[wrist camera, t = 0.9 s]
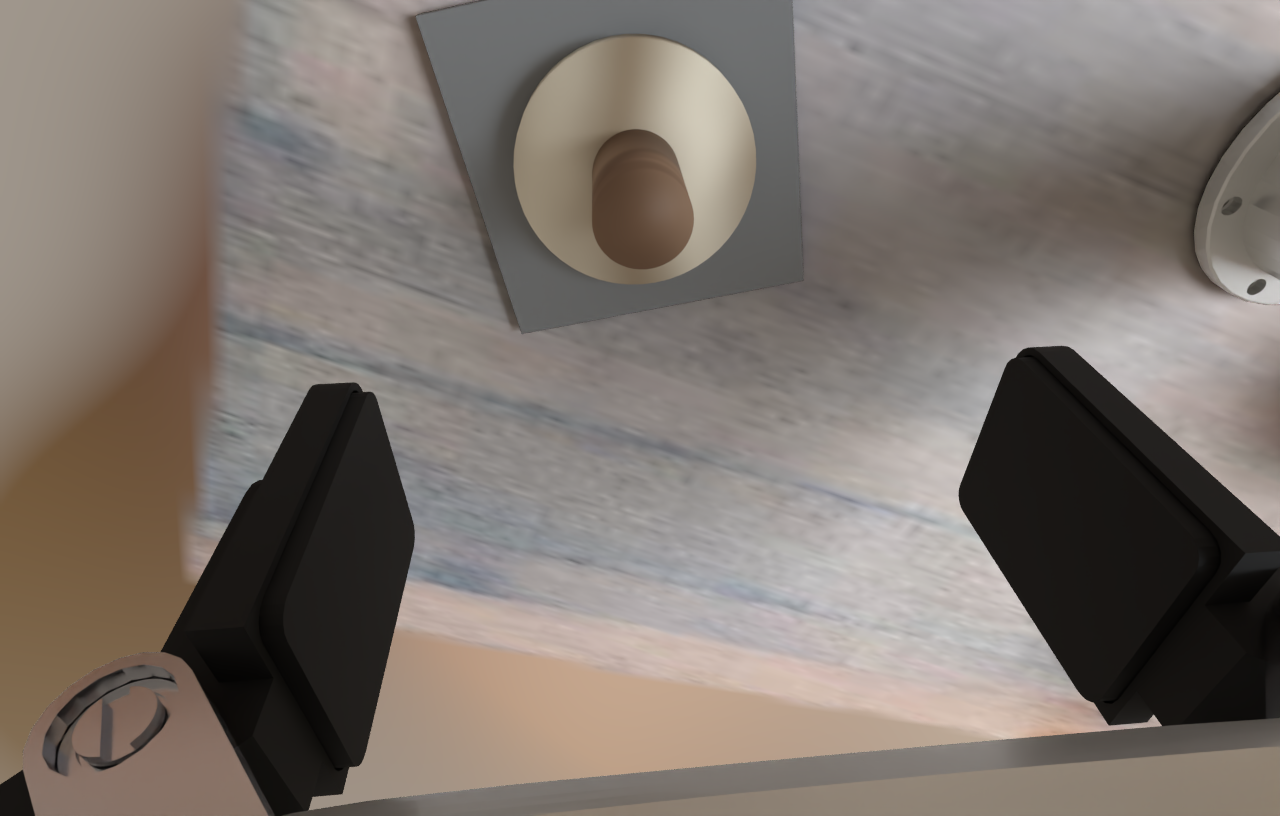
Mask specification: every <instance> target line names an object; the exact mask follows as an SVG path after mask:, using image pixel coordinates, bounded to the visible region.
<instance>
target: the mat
mask: <svg viewBox="0 0 1280 816" xmlns="http://www.w3.org/2000/svg"><path fill="white" fill-rule="evenodd" d="M416 19H417V22H418V25H419V28H420V31H421V34H422V37H423V40H424V43H425V46H426V49H427V52H428V55H429V58H430V61H431V64H432V67H433V70H434V73H435V76H436V79H437V82H438V85H439V88H440V91H441V94H442V97H443V100H444V103H445V106H446V109H447V112H448V115H449V118H450V121H451V124H452V127H453V130H454V133H455V136H456V139H457V142H458V145H459V148H460V151H461V154H462V157H463V160H464V163H465V166H466V169H467V172H468V175H469V178H470V181H471V184H472V187H473V190H474V193H475V196H476V199H477V202H478V205H479V208H480V211H481V214H482V217H483V220H484V223H485V226H486V228H487V231H488V234H489V237H490V240H491V243H492V246H493V249H494V252H495V255H496V258H497V261H498V264H499V267H500V270H501V273H502V276H503V279H504V282H505V285H506V288H507V291H508V294H509V297H510V300H511V303H512V306H513V309H514V312H515V315H516V318H517V321H518V324H519V327H520V330H521V333H522V334H524V333H530V332H535V331H540V330H546V329H551V328H556V327H561V326H567V325H572V324H577V323H583V322H588V321H593V320H598V319H604V318H609V317H614V316H620V315H625V314H630V313H635V312H641V311H646V310H651V309H657V308H662V307H667V306H672V305H678V304H683V303H688V302H694V301H699V300H704V299H709V298H715V297H720V296H725V295H731V294H736V293H741V292H746V291H752V290H757V289H762V288H767V287H773V286H778V285H783V284H789V283H794V282H799V281H804V279H803V254H802V229H801V203H800V178H799V153H798V128H797V102H796V77H795V52H794V27H793V1H792V0H480V1H476V2H471V3H467V4H462V5H458V6H453V7H449V8H444V9H440V10H435V11H431V12H426V13H422V14H418V15H417V16H416ZM622 34H648V35H655V36H661V37H664V38H668V39H671V40H674V41H677V42H679V43H681V44H683V45H685V46H687V47H690V48H692V49H693V50H695V51H696V52H698V53H699V54H701V55H702V56H704V57H705V58H706V59H708V60H709V61H710V62H711V63H712V64H713V65H714V66H715V67H716V68H717V69H718V70H719V71H720V72H721V73H722V74H723V76H724V77H725V78H726V79H727V80H728V82H729V83H730V84H731V86H732V87H733V88H734V90H735V92H736V93H737V95H738V97H739V98H740V100H741V101H742V103H743V105H744V108H745V110H746V112H747V115H748V117H749V120H750V123H751V127H752V130H753V134H754V140H755V147H756V172H755V181H754V186H753V190H752V194H751V198H750V200H749V203H748V206H747V208H746V211H745V213H744V215H743V217H742V219H741V221H740V222H739V224H738V226H737V227H736V229H735V230H734V232H733V233H732V235H731V236H730V238H729V239H728V240H727V241H726V242H725V243H724V244H723V245H722V247H721V248H720V249H719V250H718V251H716V252H715V253H714V254H713V255H712V256H711V257H710V258H708V259H707V260H706V261H704V262H703V263H701V264H700V265H698V266H697V267H695V268H693V269H691V270H690V271H688V272H686V273H684V274H681V275H679V276H676V277H674V278H671V279H668V280H664V281H660V282H656V283H648V284H618V283H611V282H607V281H603V280H599V279H596V278H593V277H591V276H588V275H585V274H583V273H581V272H579V271H577V270H575V269H573V268H572V267H570V266H569V265H567V264H566V263H564V262H563V261H561V260H560V259H559V258H558V257H557V256H556V255H554V254H553V253H552V252H551V251H550V250H549V249H548V248H547V247H546V246H545V245H544V243H543V242H542V241H541V240H540V239H539V238H538V236H537V235H536V233H535V232H534V230H533V229H532V227H531V226H530V224H529V222H528V220H527V218H526V216H525V214H524V212H523V209H522V206H521V204H520V201H519V198H518V194H517V190H516V185H515V178H514V167H513V166H514V148H515V142H516V136H517V132H518V129H519V126H520V122H521V119H522V116H523V113H524V110H525V108H526V106H527V104H528V102H529V99H530V97H531V95H532V94H533V92H534V91H535V89H536V87H537V86H538V84H539V83H540V81H541V80H542V79H543V78H544V77H545V75H546V74H547V73H548V72H549V71H550V70H551V69H552V68H553V67H554V66H555V65H556V64H557V63H558V62H560V61H561V60H562V59H563V58H564V57H566V56H567V55H569V54H570V53H572V52H573V51H575V50H576V49H578V48H580V47H582V46H584V45H586V44H588V43H591V42H593V41H596V40H599V39H602V38H606V37H609V36H615V35H622Z"/></svg>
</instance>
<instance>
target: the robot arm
mask: <svg viewBox="0 0 1280 816" xmlns="http://www.w3.org/2000/svg"><path fill="white" fill-rule="evenodd" d="M1194 241H1195V252H1196V255H1197V258H1198V261H1199V264H1200V266H1201V269H1202V270H1203V271H1204V272H1205V274H1206V275H1207V276H1208V278H1209V279H1210V280H1211V281H1212V282H1213V283H1215V284H1216V285H1218V286H1219V287H1221V288H1222V289H1224V290H1225V291H1226V292H1228V293H1229V294H1231V295H1233V296H1235V297H1237V298H1239V299H1241V300H1244V301H1247V302H1252V303H1258V304H1263V305H1280V92H1279V93H1278V94H1277V95H1276V96H1275V97H1274V98H1273V99H1271V100H1270V101H1269V102H1268V103H1267V104H1266V105H1265V106H1264V107H1263V108H1262V109H1261V110H1260V111H1259V112H1258V113H1257V114H1256V116H1255V117H1254V118H1253V119H1252V120H1251V121H1250V122H1249V123H1248V124H1247V125H1246V126H1245V127H1244V128H1243V129H1242V131H1241V132H1240V133H1239V135H1238V136H1237V137H1236V139H1235V140H1234V142H1233V143H1232V144H1231V146H1230V147H1229V148H1228V150H1227V151H1226V152H1225V154H1224V155H1223V156H1222V158H1221V160H1220V162H1219V163H1218V165H1217V167H1216V169H1215V171H1214V172H1213V174H1212V176H1211V178H1210V180H1209V181H1208V183H1207V186H1206V188H1205V191H1204V194H1203V196H1202V199H1201V202H1200V204H1199V207H1198V211H1197V217H1196V223H1195V228H1194ZM959 502H960V505H961V508H962V510H963V512H964V513H965V515H966V517H967V518H968V520H969V521H970V523H971V524H972V526H973V528H974V529H975V531H976V532H977V534H978V535H979V537H980V539H981V540H982V542H983V543H984V545H985V546H986V548H987V550H988V551H989V553H990V554H991V556H992V557H993V559H994V560H995V562H996V564H997V565H998V567H999V568H1000V570H1001V571H1002V573H1003V575H1004V576H1005V578H1006V579H1007V581H1008V582H1009V584H1010V586H1011V587H1012V589H1013V590H1014V592H1015V593H1016V595H1017V596H1018V598H1019V600H1020V601H1021V603H1022V604H1023V606H1024V607H1025V609H1026V611H1027V612H1028V614H1029V615H1030V617H1031V618H1032V620H1033V622H1034V623H1035V625H1036V626H1037V628H1038V629H1039V631H1040V632H1041V634H1042V636H1043V637H1044V639H1045V640H1046V642H1047V643H1048V645H1049V647H1050V648H1051V650H1052V651H1053V653H1054V654H1055V656H1056V658H1057V659H1058V661H1059V662H1060V664H1061V665H1062V667H1063V669H1064V670H1065V672H1066V673H1067V675H1068V676H1069V678H1070V679H1071V681H1072V683H1073V684H1074V686H1075V687H1076V689H1077V690H1078V692H1079V693H1080V694H1081V695H1082V696H1083V697H1084V698H1085V699H1086V700H1088V701H1090V702H1094V704H1095V705H1096V707H1097V708H1098V710H1099V711H1100V713H1101V714H1102V716H1103V717H1104V719H1105V720H1106V722H1107V724H1108V725H1121V724H1132V723H1143V722H1148V720H1149V719H1150V718H1151V717H1152V716H1153V715H1155V717H1156V718H1157V719H1158V721H1159V722H1160V724H1161V725H1162V726H1159V727H1147V728H1136V729H1124V730H1112V731H1100V732H1088V733H1077V734H1065V735H1053V736H1041V737H1029V738H1018V739H1006V740H994V741H982V742H971V743H959V744H949V745H938V746H926V747H915V748H904V749H893V750H881V751H870V752H859V753H848V754H838V755H825V756H815V757H803V758H792V759H781V760H772V761H771V760H770V761H760V762H748V763H738V764H726V765H716V766H705V767H695V768H685V769H674V770H663V771H653V772H642V773H631V774H621V775H610V776H600V777H589V778H580V779H569V780H558V781H548V782H538V783H526V784H516V785H506V786H497V787H489V788H480V789H471V790H462V791H453V792H444V793H435V794H426V795H418V796H408V797H399V798H391V799H382V800H373V801H366V802H359V803H353V804H347V805H341V806H334V807H328V808H322V809H315V810H309V807H310V803H311V800H312V797H316V796H326V795H338V794H342V793H343V790H344V785H345V782H346V778H347V774H348V769H349V767H355V766H359V765H360V764H361V763H362V760H363V758H364V755H365V752H366V749H367V744H368V739H369V736H370V731H371V727H372V723H373V719H374V714H375V710H376V706H377V702H378V697H379V693H380V689H381V684H382V680H383V676H384V672H385V668H386V663H387V659H388V655H389V650H390V646H391V642H392V638H393V633H394V629H395V625H396V621H397V616H398V612H399V608H400V604H401V599H402V595H403V591H404V587H405V582H406V578H407V574H408V569H409V565H410V561H411V557H412V552H413V548H414V540H415V531H414V524H413V520H412V517H411V513H410V510H409V507H408V503H407V500H406V496H405V493H404V490H403V486H402V483H401V480H400V476H399V473H398V469H397V466H396V463H395V459H394V456H393V453H392V449H391V446H390V442H389V439H388V436H387V432H386V429H385V426H384V422H383V419H382V415H381V412H380V409H379V405H378V402H377V399H376V397H375V395H374V394H373V393H372V392H363V391H362V389H361V387H360V386H359V385H358V384H357V383H336V384H316V385H313V386H312V387H311V388H310V390H309V391H308V393H307V395H306V397H305V399H304V401H303V403H302V405H301V407H300V409H299V410H298V412H297V414H296V416H295V418H294V420H293V422H292V424H291V426H290V428H289V430H288V432H287V434H286V436H285V437H284V439H283V441H282V443H281V445H280V447H279V449H278V451H277V453H276V455H275V457H274V459H273V461H272V463H271V464H270V466H269V468H268V470H267V472H266V474H265V476H264V478H263V480H259V481H257V482H255V483H253V484H252V485H251V486H250V488H249V489H248V491H247V492H246V493H245V495H244V497H243V499H242V501H241V503H240V505H239V506H238V508H237V510H236V512H235V514H234V516H233V518H232V519H231V521H230V523H229V525H228V527H227V529H226V531H225V533H224V534H223V536H222V538H221V540H220V542H219V544H218V546H217V548H216V549H215V551H214V553H213V555H212V557H211V559H210V561H209V562H208V564H207V566H206V568H205V570H204V572H203V574H202V576H201V577H200V579H199V581H198V583H197V585H196V587H195V589H194V591H193V592H192V594H191V596H190V598H189V600H188V602H187V604H186V606H185V607H184V609H183V611H182V613H181V615H180V617H179V619H178V620H177V622H176V624H175V626H174V628H173V630H172V632H171V634H170V635H169V637H168V639H167V641H166V643H165V645H164V647H163V649H162V650H161V652H143V653H139V654H135V655H130V656H126V657H122V658H119V659H117V660H114V661H112V662H110V663H108V664H105V665H104V666H101V667H99V668H97V669H95V670H93V671H91V672H90V673H88V674H87V675H85V676H84V677H82V678H81V679H79V680H78V681H76V682H75V683H73V684H72V685H70V686H69V687H68V688H67V689H66V690H65V691H64V692H63V693H62V694H61V695H59V696H58V697H57V698H56V699H55V700H54V701H53V702H52V703H51V704H50V705H49V706H48V707H47V708H46V710H45V711H44V712H43V714H42V715H41V717H40V718H39V719H38V721H37V722H36V723H35V725H34V726H33V728H32V730H31V732H30V735H29V737H28V740H27V742H26V745H25V747H24V750H23V770H22V771H20V772H19V773H17V774H16V775H14V776H13V777H11V778H10V779H8V780H7V781H5V782H3V783H2V784H0V816H1280V536H1279V535H1277V534H1276V533H1275V532H1274V531H1273V530H1272V529H1271V528H1270V527H1269V526H1268V525H1266V524H1265V523H1264V522H1263V521H1262V520H1261V519H1260V518H1259V517H1258V516H1256V515H1255V514H1254V513H1253V512H1252V511H1251V510H1250V509H1249V508H1248V507H1247V506H1245V505H1244V504H1243V503H1242V502H1241V501H1240V500H1239V499H1238V498H1237V497H1235V496H1234V495H1233V494H1232V493H1231V492H1230V491H1229V490H1228V489H1227V488H1226V487H1224V486H1223V485H1222V484H1221V483H1220V482H1219V481H1218V480H1217V479H1216V478H1214V477H1213V476H1212V475H1211V474H1210V473H1209V472H1208V471H1207V470H1206V469H1205V468H1203V467H1202V466H1201V465H1200V464H1199V463H1198V462H1197V461H1196V460H1195V459H1193V458H1192V457H1191V456H1190V455H1189V454H1188V453H1187V452H1186V451H1185V450H1184V449H1182V448H1181V447H1180V446H1179V445H1178V444H1177V443H1176V442H1175V441H1174V440H1173V439H1171V438H1170V437H1169V436H1168V435H1167V434H1166V433H1165V432H1164V431H1163V430H1161V429H1160V428H1159V427H1158V426H1157V425H1156V424H1155V423H1154V422H1153V421H1152V420H1150V419H1149V418H1148V417H1147V416H1146V415H1145V414H1144V413H1143V412H1142V411H1140V410H1139V409H1138V408H1137V407H1136V406H1135V405H1134V404H1133V403H1132V402H1131V401H1129V400H1128V399H1127V398H1126V397H1125V396H1124V395H1123V394H1122V393H1121V392H1119V391H1118V390H1117V389H1116V388H1115V387H1114V386H1113V385H1112V384H1111V383H1110V382H1108V381H1107V380H1106V379H1105V378H1104V377H1103V376H1102V375H1101V374H1100V373H1098V372H1097V371H1096V370H1095V369H1094V368H1093V367H1092V366H1091V365H1090V364H1089V363H1087V362H1086V361H1085V360H1084V359H1083V358H1082V357H1081V356H1080V355H1079V354H1078V353H1076V352H1075V351H1074V350H1073V349H1071V348H1069V347H1067V346H1051V347H1031V348H1026V349H1023V350H1022V351H1021V352H1020V353H1019V354H1018V355H1017V357H1016V358H1014V359H1011V360H1010V361H1009V362H1008V363H1007V365H1006V367H1005V369H1004V372H1003V375H1002V377H1001V380H1000V382H999V385H998V388H997V390H996V393H995V395H994V398H993V401H992V403H991V406H990V409H989V411H988V414H987V416H986V419H985V422H984V424H983V427H982V430H981V432H980V435H979V437H978V440H977V443H976V445H975V448H974V450H973V453H972V456H971V458H970V461H969V464H968V466H967V469H966V471H965V474H964V477H963V479H962V482H961V485H960V488H959ZM308 810H309V811H308Z"/></svg>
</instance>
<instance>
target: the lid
mask: <svg viewBox="0 0 1280 816" xmlns="http://www.w3.org/2000/svg"><path fill="white" fill-rule="evenodd" d="M513 167H514V178H515V185H516V190H517V194H518V198H519V201H520V204H521V206H522V209H523V212H524V214H525V216H526V218H527V220H528V222H529V224H530V226H531V227H532V229H533V230H534V232H535V233H536V235H537V236H538V238H539V239H540V240H541V241H542V242H543V243H544V245H545V246H546V247H547V248H548V249H549V250H550V251H551V252H552V253H553V254H554V255H556V256H557V257H558V258H559V259H560V260H561V261H563V262H564V263H566V264H567V265H569V266H570V267H572V268H573V269H575V270H577V271H579V272H581V273H583V274H585V275H588V276H591V277H593V278H596V279H599V280H603V281H607V282H611V283H618V284H648V283H656V282H660V281H664V280H668V279H671V278H674V277H676V276H679V275H681V274H684V273H686V272H688V271H690V270H691V269H693V268H695V267H697V266H698V265H700V264H701V263H703V262H704V261H706V260H707V259H708V258H710V257H711V256H712V255H713V254H714V253H715V252H716V251H718V250H719V249H720V248H721V247H722V245H723V244H724V243H725V242H726V241H727V240H728V239H729V238H730V236H731V235H732V233H733V232H734V230H735V229H736V227H737V226H738V224H739V222H740V221H741V219H742V217H743V215H744V213H745V211H746V208H747V206H748V203H749V200H750V198H751V194H752V190H753V186H754V181H755V172H756V147H755V140H754V134H753V130H752V127H751V123H750V120H749V117H748V115H747V112H746V110H745V108H744V105H743V103H742V101H741V100H740V98H739V97H738V95H737V93H736V92H735V90H734V88H733V87H732V86H731V84H730V83H729V82H728V80H727V79H726V78H725V77H724V76H723V74H722V73H721V72H720V71H719V70H718V69H717V68H716V67H715V66H714V65H713V64H712V63H711V62H710V61H709V60H708V59H706V58H705V57H704V56H702V55H701V54H699V53H698V52H696V51H695V50H693V49H692V48H690V47H687V46H685V45H683V44H681V43H679V42H677V41H674V40H671V39H668V38H664V37H661V36H655V35H648V34H622V35H615V36H609V37H606V38H602V39H599V40H596V41H593V42H591V43H588V44H586V45H584V46H582V47H580V48H578V49H576V50H575V51H573V52H572V53H570V54H569V55H567V56H566V57H564V58H563V59H562V60H561V61H560V62H558V63H557V64H556V65H555V66H554V67H553V68H552V69H551V70H550V71H549V72H548V73H547V74H546V75H545V77H544V78H543V79H542V80H541V81H540V83H539V84H538V86H537V87H536V89H535V91H534V92H533V94H532V95H531V97H530V99H529V102H528V104H527V106H526V108H525V110H524V113H523V116H522V119H521V122H520V126H519V129H518V132H517V136H516V142H515V148H514V166H513Z"/></svg>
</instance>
